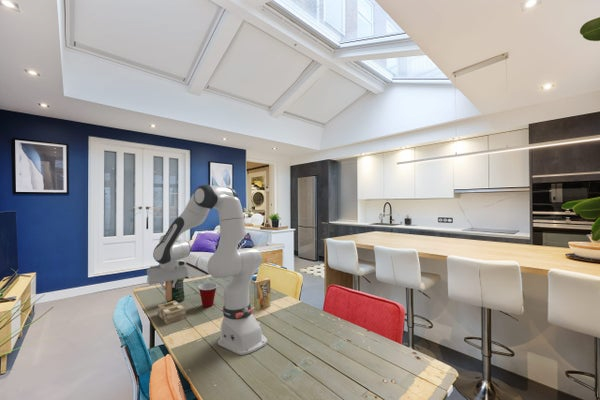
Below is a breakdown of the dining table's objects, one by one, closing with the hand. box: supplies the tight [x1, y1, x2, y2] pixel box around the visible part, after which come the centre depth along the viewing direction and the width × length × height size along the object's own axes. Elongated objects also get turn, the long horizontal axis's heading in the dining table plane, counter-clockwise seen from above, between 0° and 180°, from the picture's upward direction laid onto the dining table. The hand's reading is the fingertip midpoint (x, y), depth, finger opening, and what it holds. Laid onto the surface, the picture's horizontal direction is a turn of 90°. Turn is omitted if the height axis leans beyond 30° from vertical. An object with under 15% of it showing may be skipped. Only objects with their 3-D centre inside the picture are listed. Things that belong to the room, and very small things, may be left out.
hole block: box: [157, 301, 187, 325], centre depth 137 cm, size 16×9×5 cm, turn 45°
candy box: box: [253, 278, 271, 311], centre depth 147 cm, size 9×4×15 cm, turn 129°
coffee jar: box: [166, 278, 185, 303], centre depth 157 cm, size 10×8×19 cm
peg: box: [164, 280, 172, 302], centre depth 140 cm, size 3×3×12 cm
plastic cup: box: [197, 282, 218, 308], centre depth 150 cm, size 11×11×12 cm
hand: (168, 288), depth 140 cm, fingers closed on peg, 3 cm apart
